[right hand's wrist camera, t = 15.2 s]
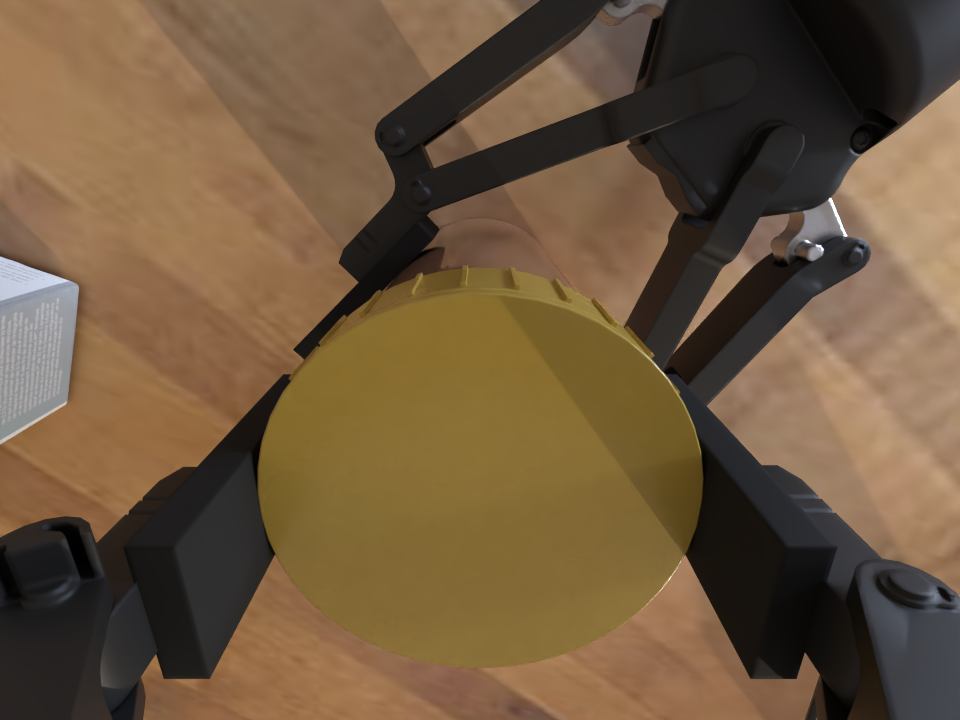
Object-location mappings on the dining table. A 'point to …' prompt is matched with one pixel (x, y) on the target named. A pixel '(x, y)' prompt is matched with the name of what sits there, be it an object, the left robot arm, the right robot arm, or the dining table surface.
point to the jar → (482, 251)
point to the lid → (480, 471)
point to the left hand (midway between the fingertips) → (397, 418)
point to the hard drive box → (34, 344)
